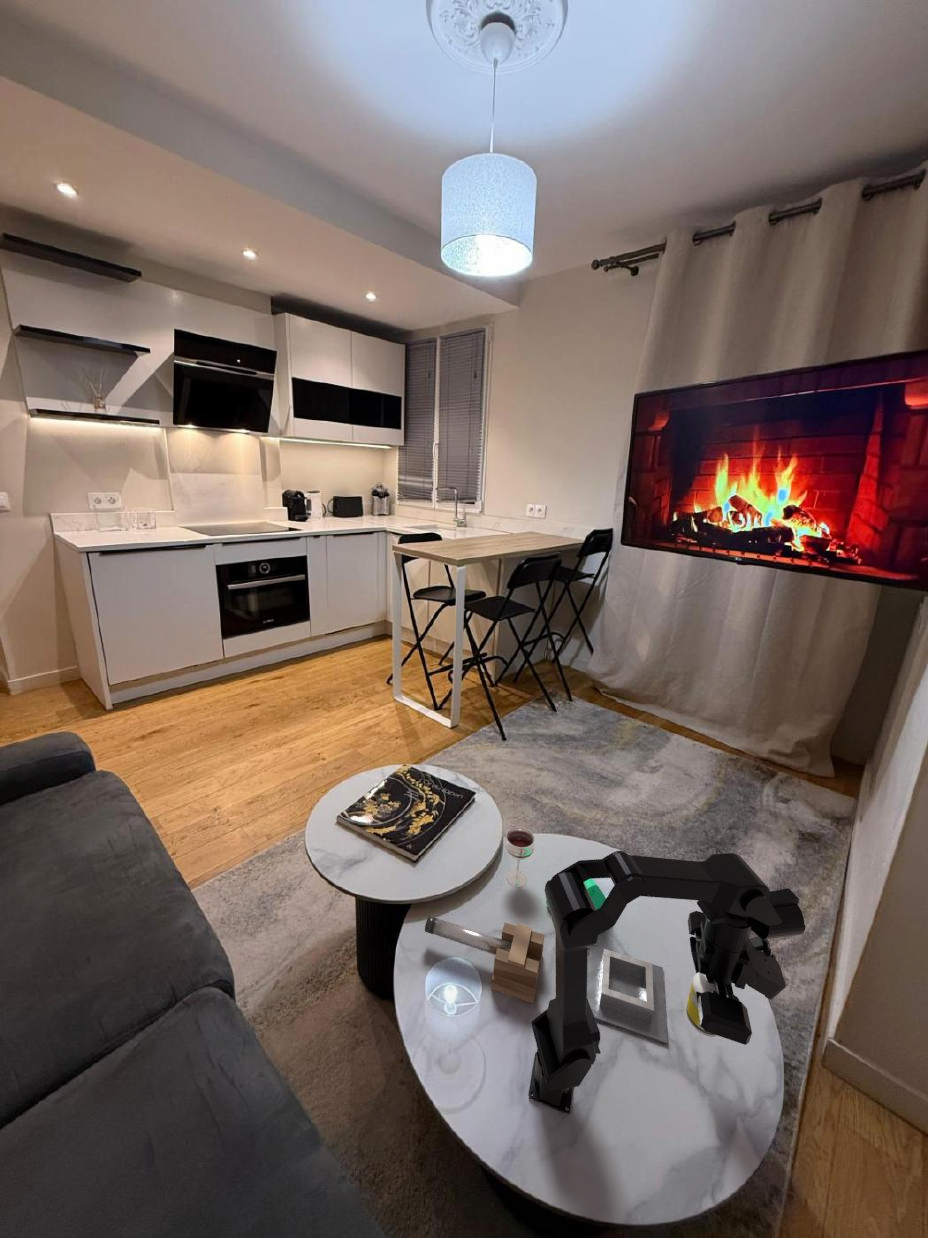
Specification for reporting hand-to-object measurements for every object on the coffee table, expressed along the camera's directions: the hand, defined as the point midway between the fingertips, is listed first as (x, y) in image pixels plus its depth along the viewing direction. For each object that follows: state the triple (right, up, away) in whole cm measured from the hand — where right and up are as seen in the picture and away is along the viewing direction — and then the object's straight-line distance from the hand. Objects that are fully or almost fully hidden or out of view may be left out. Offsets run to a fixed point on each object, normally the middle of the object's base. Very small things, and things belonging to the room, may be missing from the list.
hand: (706, 1008), depth 78 cm
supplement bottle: (0, -3, +1) cm, 3 cm away
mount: (-28, -6, +17) cm, 34 cm away
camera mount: (-14, -3, +31) cm, 34 cm away
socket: (-8, -8, +14) cm, 18 cm away
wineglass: (-26, 0, +39) cm, 47 cm away
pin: (-38, -2, +19) cm, 43 cm away
